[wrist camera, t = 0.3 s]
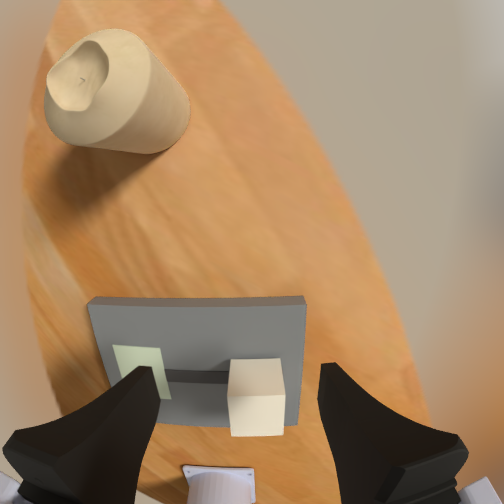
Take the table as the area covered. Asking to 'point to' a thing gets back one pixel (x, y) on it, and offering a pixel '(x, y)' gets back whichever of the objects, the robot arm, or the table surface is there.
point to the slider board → (200, 348)
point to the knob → (256, 397)
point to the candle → (115, 96)
